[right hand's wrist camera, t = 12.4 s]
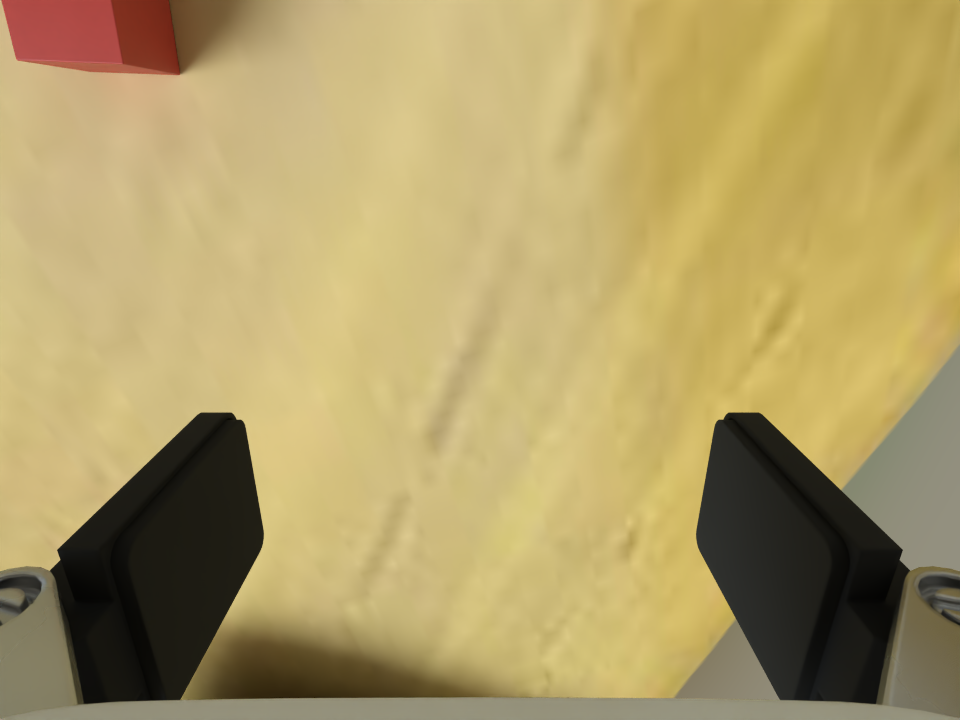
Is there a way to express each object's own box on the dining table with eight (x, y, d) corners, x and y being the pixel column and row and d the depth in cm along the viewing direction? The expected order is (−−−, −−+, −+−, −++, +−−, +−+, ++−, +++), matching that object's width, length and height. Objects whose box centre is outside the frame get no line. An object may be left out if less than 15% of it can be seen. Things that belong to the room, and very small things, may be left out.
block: (64, -49, 26) (-21, -86, 21) (162, -45, 26) (96, -81, 21) (90, 71, 27) (16, 60, 23) (180, 75, 27) (123, 64, 23)
